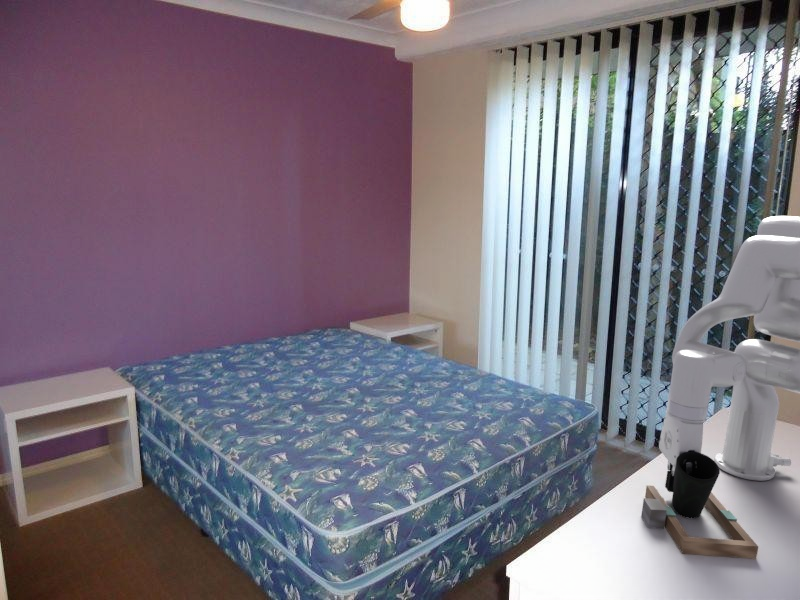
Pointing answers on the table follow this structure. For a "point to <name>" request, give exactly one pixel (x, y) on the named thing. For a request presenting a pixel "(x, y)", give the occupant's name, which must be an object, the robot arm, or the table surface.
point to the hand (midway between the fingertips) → (673, 490)
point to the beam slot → (739, 546)
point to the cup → (693, 483)
